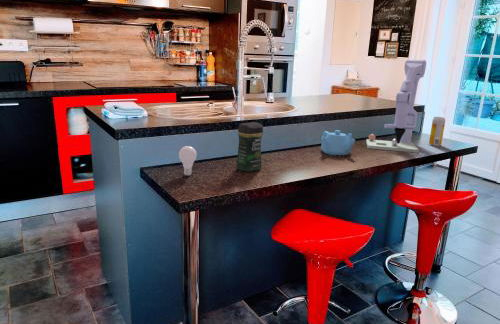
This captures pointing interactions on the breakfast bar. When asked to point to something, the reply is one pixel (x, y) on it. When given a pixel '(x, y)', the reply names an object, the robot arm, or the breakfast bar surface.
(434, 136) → the beer can
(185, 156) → the lightbulb
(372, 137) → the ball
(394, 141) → the steel ball
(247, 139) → the coffee jar
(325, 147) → the teapot
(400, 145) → the hole plate
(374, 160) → the breakfast bar surface
